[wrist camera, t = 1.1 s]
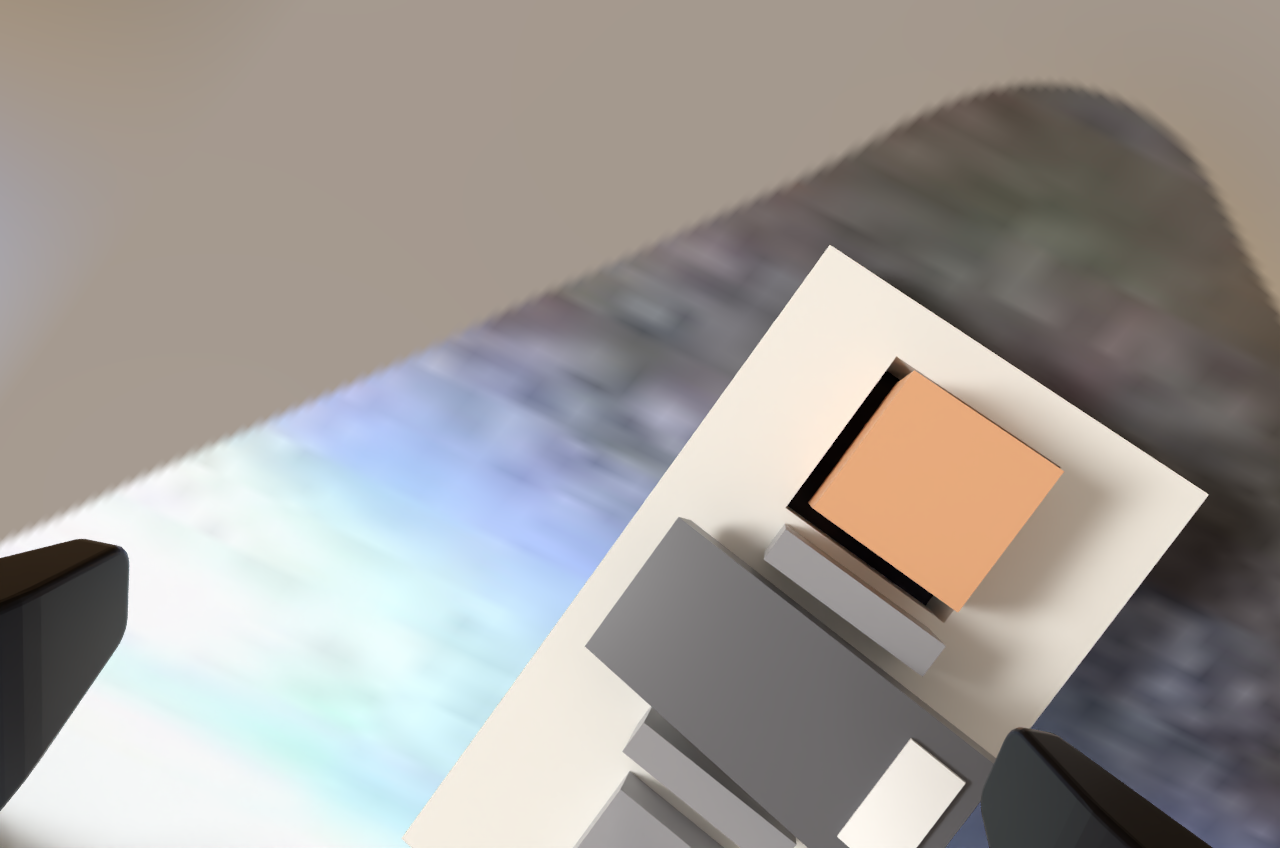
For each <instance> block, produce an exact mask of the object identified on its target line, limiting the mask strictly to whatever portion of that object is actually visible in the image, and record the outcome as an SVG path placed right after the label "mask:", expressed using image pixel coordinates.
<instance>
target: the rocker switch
mask: <svg viewBox="0 0 1280 848" xmlns="http://www.w3.org/2000/svg"><path fill="white" fill-rule="evenodd" d="M585 647H586V648H587V649H588V650H589V651H590V652H591V653H593V654H594V655H595V656H596V657H597V658H598V659H599V660H600V661H601V662H603V663H604V664H605V665H606V666H607V667H608V668H609V669H610V670H611V671H612V672H614V673H615V674H616V675H617V676H618V677H619V678H620V679H621V680H622V681H624V682H625V683H626V684H627V685H628V686H629V687H630V688H631V689H632V690H634V691H635V692H636V693H637V694H638V695H639V696H640V697H641V698H642V699H644V700H645V701H646V702H647V703H648V704H649V705H650V706H651V707H652V708H653V709H655V710H656V711H657V712H658V713H659V714H660V715H661V716H662V717H663V718H665V719H666V720H667V721H668V722H669V723H670V724H671V725H672V726H673V727H675V728H676V729H677V730H678V731H679V732H680V733H681V734H682V735H683V736H684V737H686V738H687V739H688V740H689V741H690V742H691V743H692V744H693V745H694V746H696V747H697V748H698V749H699V750H700V751H701V752H702V753H703V754H704V755H706V756H707V757H708V758H709V759H710V760H711V761H712V762H713V763H714V764H715V765H717V766H718V767H719V768H720V769H721V770H722V771H723V772H724V773H725V774H727V775H728V776H729V777H730V778H731V779H732V780H733V781H734V782H735V783H737V784H738V785H739V786H740V787H741V788H742V789H743V790H744V791H745V792H747V793H748V794H749V795H750V796H751V797H752V798H753V799H754V800H755V801H756V802H758V803H759V804H760V805H761V806H762V807H763V808H764V809H765V810H766V811H768V812H769V813H770V814H771V815H772V816H773V817H774V818H775V819H776V820H778V821H779V822H780V823H781V824H782V825H783V826H784V827H785V828H786V829H787V830H789V831H790V832H791V833H792V834H793V835H794V836H795V837H796V838H797V839H799V840H800V841H801V842H802V843H803V844H804V845H805V846H806V847H807V848H945V847H946V846H947V845H948V843H949V842H950V841H951V839H952V838H953V837H954V835H955V834H956V833H957V832H958V830H959V829H960V828H961V826H962V825H963V824H964V822H965V821H966V820H967V818H968V817H969V816H970V815H971V813H972V812H973V811H974V809H975V808H976V807H977V805H978V804H979V803H980V801H981V795H982V790H983V787H984V784H985V782H986V780H987V778H988V775H989V773H990V771H991V769H992V766H993V764H994V762H995V760H996V758H995V757H994V756H993V755H991V754H990V753H989V752H987V751H986V750H985V749H984V748H982V747H981V746H980V745H978V744H977V743H976V742H975V741H973V740H972V739H971V738H970V737H968V736H967V735H966V734H964V733H963V732H962V731H961V730H959V729H958V728H957V727H955V726H954V725H953V724H952V723H950V722H949V721H948V720H946V719H945V718H944V717H943V716H941V715H940V714H939V713H937V712H936V711H935V710H934V709H932V708H931V707H930V706H929V705H927V704H926V703H925V702H923V701H922V700H921V699H920V698H918V697H917V696H916V695H914V694H913V693H912V692H911V691H909V690H908V689H907V688H905V687H904V686H903V685H902V684H900V683H899V682H898V681H896V680H895V679H894V678H893V677H891V676H890V675H889V674H887V673H886V672H885V671H884V670H882V669H881V668H880V667H879V666H877V665H876V664H875V663H873V662H872V661H871V660H870V659H868V658H867V657H866V656H864V655H863V654H862V653H861V652H859V651H858V650H857V649H855V648H854V647H853V646H852V645H850V644H849V643H848V642H846V641H845V640H844V639H843V638H841V637H840V636H839V635H838V634H836V633H835V632H834V631H832V630H831V629H830V628H829V627H827V626H826V625H825V624H823V623H822V622H821V621H820V620H818V619H817V618H816V617H814V616H813V615H812V614H811V613H809V612H808V611H807V610H805V609H804V608H803V607H802V606H800V605H799V604H798V603H796V602H795V601H794V600H793V599H791V598H790V597H789V596H788V595H786V594H785V593H784V592H782V591H781V590H780V589H779V588H777V587H776V586H775V585H773V584H772V583H771V582H770V581H768V580H767V579H766V578H764V577H763V576H762V575H761V574H759V573H758V572H757V571H755V570H754V569H753V568H752V567H750V566H749V565H748V564H747V563H745V562H744V561H743V560H741V559H740V558H739V557H738V556H736V555H735V554H734V553H732V552H731V551H730V550H729V549H727V548H726V547H725V546H723V545H722V544H721V543H720V542H718V541H717V540H716V539H714V538H713V537H712V536H711V535H709V534H708V533H707V532H705V531H704V530H703V529H702V528H700V527H699V526H698V525H697V524H695V523H694V522H693V521H691V520H689V519H685V518H681V517H678V518H677V520H676V521H675V523H674V524H673V525H672V527H671V528H670V529H669V531H668V532H667V534H666V535H665V536H664V538H663V539H662V540H661V542H660V543H659V545H658V546H657V547H656V549H655V550H654V551H653V553H652V554H651V556H650V557H649V558H648V560H647V561H646V562H645V564H644V565H643V567H642V568H641V569H640V571H639V572H638V574H637V575H636V576H635V578H634V579H633V580H632V582H631V583H630V585H629V586H628V587H627V589H626V590H625V591H624V593H623V594H622V596H621V597H620V598H619V600H618V601H617V602H616V604H615V605H614V607H613V608H612V609H611V611H610V612H609V614H608V615H607V616H606V618H605V619H604V620H603V622H602V623H601V625H600V626H599V627H598V629H597V630H596V631H595V633H594V634H593V636H592V637H591V638H590V640H589V641H588V642H587V644H586V645H585Z"/></svg>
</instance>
